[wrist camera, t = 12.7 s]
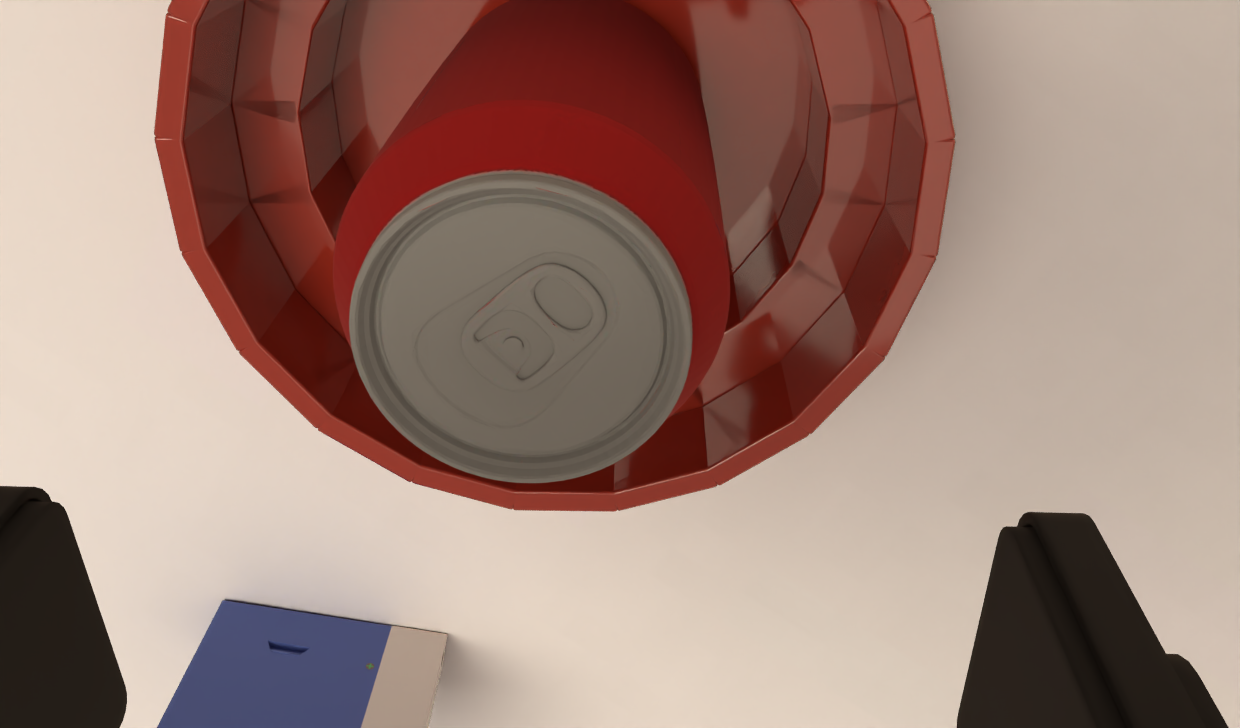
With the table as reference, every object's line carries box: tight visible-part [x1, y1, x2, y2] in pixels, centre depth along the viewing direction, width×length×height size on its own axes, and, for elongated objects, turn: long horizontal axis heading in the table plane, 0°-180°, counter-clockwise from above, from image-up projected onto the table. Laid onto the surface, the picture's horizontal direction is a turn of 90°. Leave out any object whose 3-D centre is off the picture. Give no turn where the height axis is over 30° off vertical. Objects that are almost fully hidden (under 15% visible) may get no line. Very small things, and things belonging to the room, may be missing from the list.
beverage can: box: [333, 0, 730, 483], centre depth 22 cm, size 7×7×12 cm
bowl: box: [154, 0, 955, 511], centre depth 25 cm, size 16×16×6 cm
